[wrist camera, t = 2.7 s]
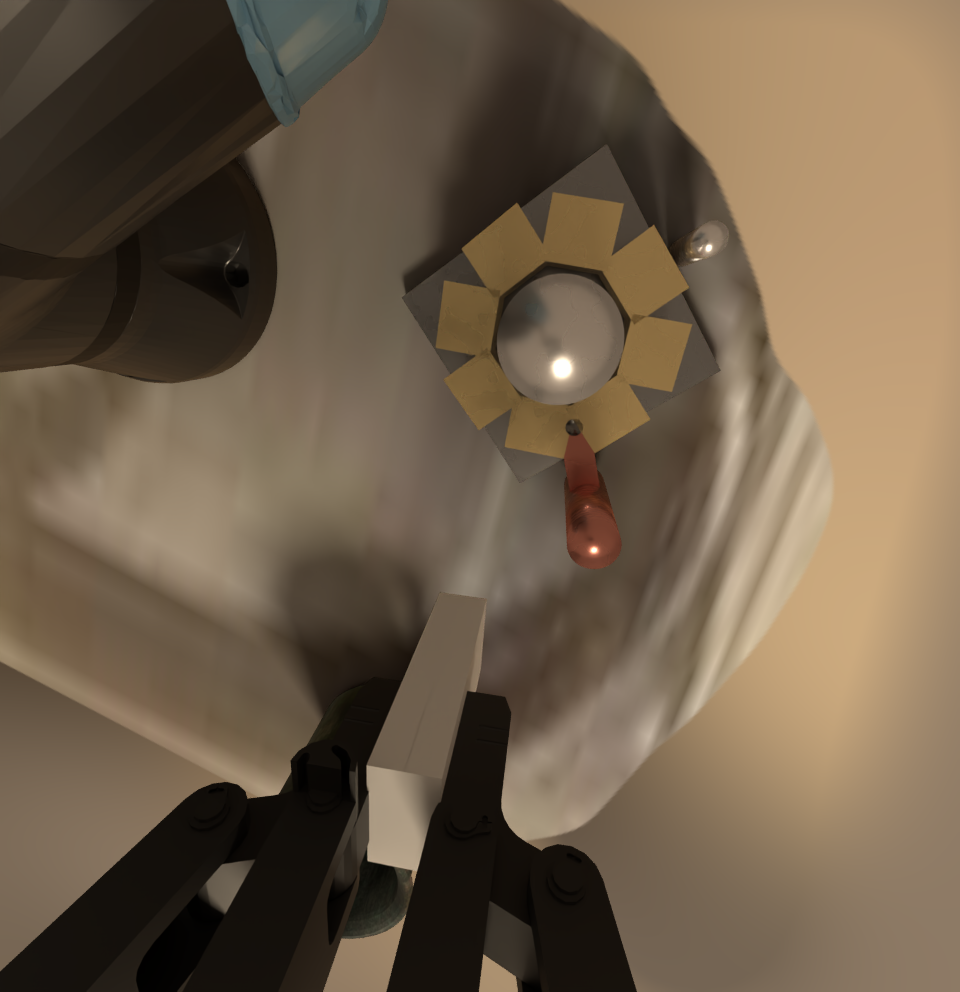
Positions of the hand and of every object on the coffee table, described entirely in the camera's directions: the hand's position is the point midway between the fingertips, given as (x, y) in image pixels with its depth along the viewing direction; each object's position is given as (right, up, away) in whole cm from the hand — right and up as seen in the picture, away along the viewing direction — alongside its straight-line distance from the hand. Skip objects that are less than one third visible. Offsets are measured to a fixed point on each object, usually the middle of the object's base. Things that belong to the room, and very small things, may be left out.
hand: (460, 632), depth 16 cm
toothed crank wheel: (+5, +11, +12) cm, 18 cm away
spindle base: (+5, +14, +13) cm, 20 cm away
